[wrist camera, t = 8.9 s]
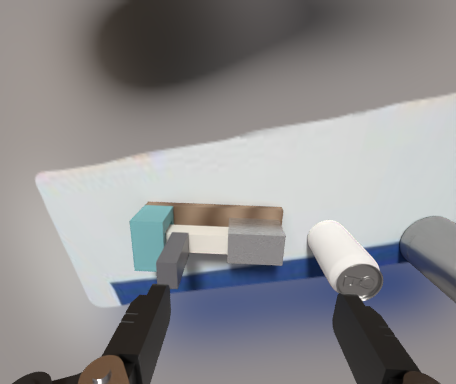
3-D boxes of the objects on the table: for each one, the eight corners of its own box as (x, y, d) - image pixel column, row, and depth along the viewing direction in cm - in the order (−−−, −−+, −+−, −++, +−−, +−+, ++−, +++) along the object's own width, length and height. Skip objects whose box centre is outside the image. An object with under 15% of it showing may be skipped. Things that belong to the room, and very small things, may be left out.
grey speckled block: (279, 219, 39) (285, 236, 34) (276, 246, 41) (282, 265, 36) (229, 217, 39) (228, 233, 34) (228, 244, 41) (227, 263, 36)
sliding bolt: (242, 225, 38) (244, 266, 28) (240, 246, 39) (242, 292, 29) (152, 221, 38) (123, 260, 28) (154, 242, 39) (126, 286, 29)
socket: (173, 206, 39) (162, 222, 33) (174, 250, 42) (165, 272, 36) (145, 205, 39) (129, 221, 33) (148, 248, 42) (134, 270, 36)
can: (341, 253, 42) (380, 306, 31) (304, 251, 43) (328, 303, 31) (348, 219, 40) (393, 262, 29) (309, 217, 41) (338, 259, 29)
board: (281, 207, 40) (283, 210, 39) (276, 249, 43) (278, 254, 41) (148, 201, 41) (145, 205, 39) (151, 244, 43) (148, 248, 42)
